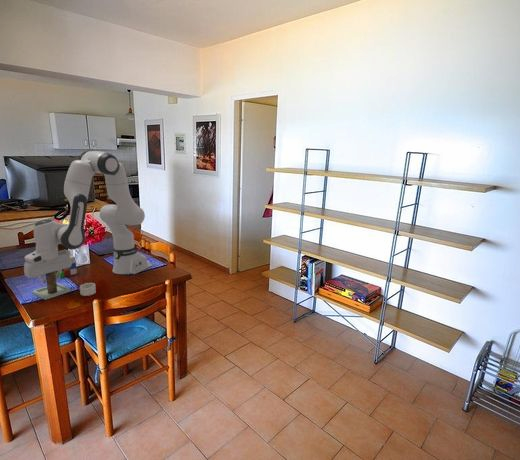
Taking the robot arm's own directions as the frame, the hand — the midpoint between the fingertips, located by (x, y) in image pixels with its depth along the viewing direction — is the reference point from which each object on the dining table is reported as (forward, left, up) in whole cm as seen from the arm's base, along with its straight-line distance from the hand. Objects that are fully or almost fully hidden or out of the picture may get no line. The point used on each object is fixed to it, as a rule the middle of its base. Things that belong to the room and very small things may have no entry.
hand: (50, 280), depth 161 cm
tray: (0, 0, -7) cm, 7 cm away
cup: (-10, +14, -7) cm, 18 cm away
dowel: (0, 0, -6) cm, 6 cm away
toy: (-17, -21, -7) cm, 28 cm away
